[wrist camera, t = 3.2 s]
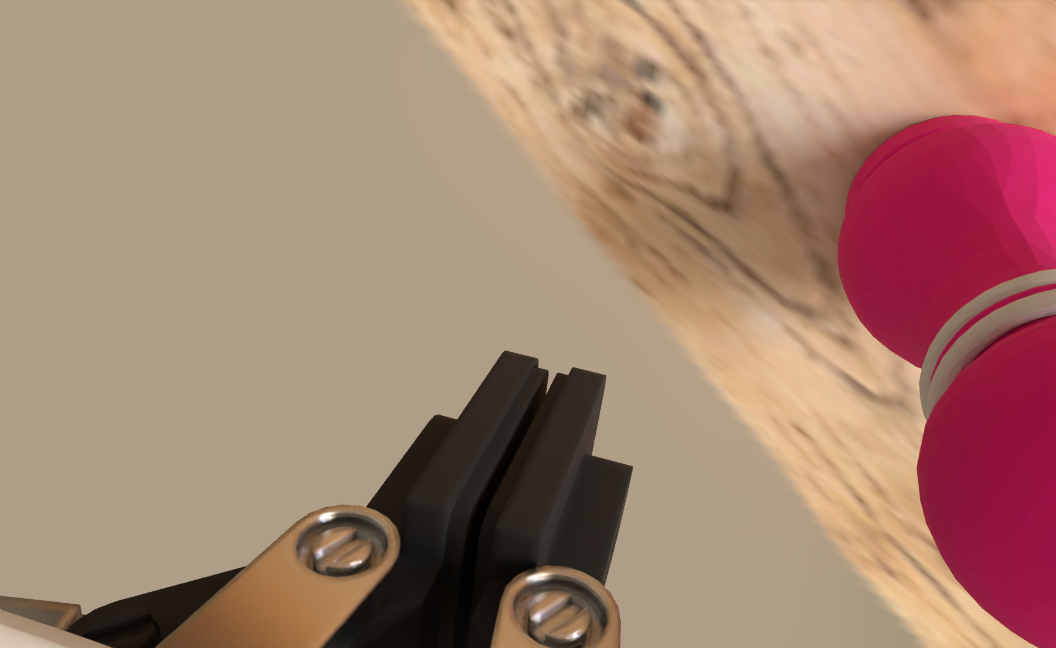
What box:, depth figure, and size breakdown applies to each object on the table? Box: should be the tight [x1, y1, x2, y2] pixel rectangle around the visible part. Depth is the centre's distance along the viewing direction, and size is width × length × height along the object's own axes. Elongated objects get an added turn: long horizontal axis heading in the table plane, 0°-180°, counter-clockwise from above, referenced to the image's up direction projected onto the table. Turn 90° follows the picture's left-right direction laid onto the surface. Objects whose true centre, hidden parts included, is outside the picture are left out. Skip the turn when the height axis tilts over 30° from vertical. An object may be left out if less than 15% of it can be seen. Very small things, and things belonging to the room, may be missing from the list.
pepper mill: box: [838, 115, 1056, 648], centre depth 18 cm, size 7×7×20 cm
